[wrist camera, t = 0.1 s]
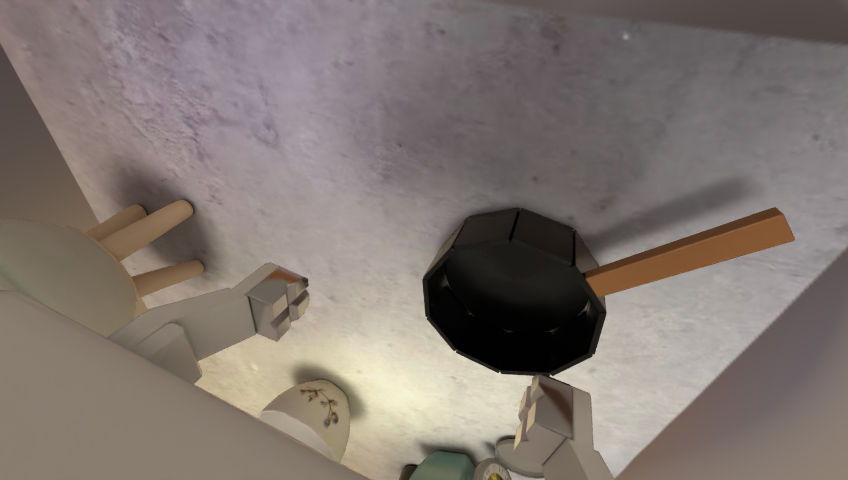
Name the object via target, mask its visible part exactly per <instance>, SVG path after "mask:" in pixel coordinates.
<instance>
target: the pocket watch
mask: <svg viewBox="0 0 848 480" xmlns="http://www.w3.org/2000/svg"><path fill="white" fill-rule="evenodd" d="M514 443H515V439H506V440H503V441H500V442H499V443H498V444H497V445H496V449H495V455H496V458H495V459H494V458H489V459H485V460H484V461H482V462H481V463H480V464H479V465H478V466H477V468H476V470H475V473H474V477H473V480H489V479H488V478H489V476H490V479H491V480H512V479H511V477H510V475H509V472H508V471H507V469H509V470H511V471H513V472H515V473H517V474H519V475H522V476H525V477H529V478H535V479H540V478H545V477H544V475H543V472H542V469H541V467H542V466H540V465H538V464H536V463H534V462H532V461H530V460H528V459H526V458H524V457H522V456H520V455H518V454H516V453H514V452H513V451H514ZM492 476H494V479H493V478H492Z"/></svg>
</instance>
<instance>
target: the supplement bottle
mask: <svg viewBox="0 0 848 480" xmlns="http://www.w3.org/2000/svg"><path fill="white" fill-rule="evenodd" d="M417 467H418V466H407V467H405V468H404V469H403V471H402V473H401V476H400V478H399V480H409V479H410V477H411V476H412V474H413V472H414V471H415V470H416V468H417Z"/></svg>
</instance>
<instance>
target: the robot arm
mask: <svg viewBox="0 0 848 480" xmlns="http://www.w3.org/2000/svg"><path fill="white" fill-rule="evenodd" d="M308 286H309V285H308V279H307V278H305V277H303V276H301V275H298V274H296V273H294V272H292V271H289V270H287V269H285V268H283V267H280V266H278V265H275V264H273V263H271V262H270V263H266V264H264V265H263V266H262V267H260V268H259V269H258V270H256V271H255V272H254V273H252V274H251V275H250V276H249V277H247V278H246V279H245V280H243V281H242V282H241V283H239V284H238V285H237V286H235V287H234V288H233V289H230V288H226V289H222V290H218V291H215V292H211V293H207V294H204V295H200V296H196V297H192V298H189V299H185V300H181V301H178V302H174V303H170V304H166V305H163V306H159V307H155V308H152V309H149V310H147V311H146V312H144V313H143V314H142V315H140V316H138V317H137V318H135V319H134V320H132V321H131V322H129V323H128V324H126V325H125V326H123V327H122V328H120V329H119V330H117V331H116V332H114V333H113V334H111V335H110V336H108V337H107V338H106V337H104V336H102V335H101V334H99V333H97V332H95V331H93V330H91V329H89V328H87V327H85V326H84V325H82V324H80V323H78V322H76V321H74V320H72V319H70V318H69V317H67V316H65V315H63V314H61V313H59V312H57V311H55V310H53V309H52V308H50V307H48V306H46V305H44V304H42V303H40V302H39V301H37V300H35V299H33V298H31V297H30V296H28V295H26V294H23V293H21V292H18V291H13V290H1V291H0V480H372V479H371V478H369V477H367V476H365V475H363V474H361V473H359V472H357V471H356V470H354V469H352V468H350V467H348V466H346V465H344V464H342V463H341V462H339V461H337V460H335V459H333V458H331V457H329V456H327V455H326V454H324V453H322V452H320V451H318V450H316V449H314V448H312V447H311V446H309V445H307V444H305V443H303V442H301V441H299V440H298V439H296V438H294V437H292V436H290V435H288V434H286V433H284V432H283V431H281V430H279V429H277V428H275V427H273V426H271V425H269V424H268V423H266V422H264V421H262V420H260V419H258V418H256V417H254V416H252V415H251V414H249V413H247V412H245V411H243V410H241V409H239V408H237V407H236V406H234V405H232V404H230V403H228V402H226V401H224V400H222V399H221V398H219V397H217V396H215V395H213V394H211V393H209V392H207V391H206V390H204V389H202V388H200V387H198V386H196V385H194V383H195V382H197V381H198V380H199V379H200V378H201V377H202V370H201V368H200V366H199V363H198V361H199V360H201V359H204V358H206V357H208V356H210V355H212V354H214V353H217V352H219V351H221V350H223V349H225V348H227V347H230V346H232V345H234V344H236V343H238V342H241V341H243V340H245V339H247V338H249V337H251V336H254V335H256V333H258V334H260V335H262V336H265V337H267V338H269V339H272V340H274V341H276V342H277V341H278V340H279V339H280V338H281V337H282V336H283V335H284V334H285V333H286V332H287V331H288V330H289V329H290V326H291V322H292V321H294V320H297V319H299V318H300V317H301V316H302V315H303V314H304V312H305V311H306V309H307V307H308V304H309V300H310V299H309V294H308V292H307V290H306V288H307V287H308ZM518 416H519V419H520V421H521V424H520V425H519V427H518V428H517V430H516V436H515V443H514V451H513V452H514V453H516V454H518V455H520V456H522V457H524V458H526V459H528V460H530V461H532V462H534V463H536V464H538V465H540V466H542V467H541V469H542V472H543V475H544V477H545V480H614V478H613V476H612V474H611V472H610V471H609V469H608V467H607V465H606V464H605V462H604V460H603V458H602V456H601V455H600V453H599V452H598V451H596V450H594V448H593V428H592V407H591V396H590V394H589V393H588V392H585V391H583V390H580V389H578V388H575V387H573V386H570V385H569V384H566V383H564V382H561V381H559V380H556V379H554V378H551V377H549V376H546V375H544V374H541V373H539V372H537V373H536V374H535V375H534V377H533V379H532V386H528V387H527V389H526V391H525V392H524V395H523V398H522V400H521V404H520V409H519V415H518Z"/></svg>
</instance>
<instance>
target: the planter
mask: <svg viewBox="0 0 848 480" xmlns="http://www.w3.org/2000/svg"><path fill="white" fill-rule="evenodd" d="M192 214H193V208H192V206H191V205H190V203H188V202H187V201H185V200H178V201H176V202H174V203H171V204H169V205H167V206H165V207H163V208H162V209H160V210H158V211H156V212H154V213H152V214H150V215H148V216H146V211H145V210H144V208H142V207H141V206H139V205H131V206H129V207H127V208H126V209H124V210H122V211H120V212H119V213H117V214H116V215H114V216H112V217H111V218H109V219H108V220H106V221H104V222H103V223H101V224H99V225H98V226H96V227H94V228H93V229H91V230H90V231H88V232H86V233H85V232H83V231H81V230H80V229H77V228H75V227H70V226H60V225H56V224H51V223H46V222H40V221H32V220H21V219H0V291H1V290H13V291H18V292H21V293H23V294H26V295H28V296H30V297H31V298H33V299H35V300H37V301H39V302H40V303H42V304H44V305H46V306H48V307H50V308H52V309H53V310H55V311H57V312H59V313H61V314H63V315H65V316H67V317H69V318H70V319H72V320H74V321H76V322H78V323H80V324H82V325H84V326H85V327H87V328H89V329H91V330H93V331H95V332H97V333H99V334H101V335H102V336H104V337H106V338H107V337H108V336H110V335H111V334H113V333H114V332H116V331H117V330H119V329H120V328H122V327H123V326H125V325H126V324H128V323H129V322H131V321H132V320H133V318H134V314H135V309H136V302H137V301H138V298H140V297H143V296H145V295H148V294H150V293H153V292H155V291H158V290H160V289H163V288H166V287H168V286H171V285H174V284H176V283H179V282H182V281H185V280H188V279H190V278H193V277H195V276H198V275H200V274H202V273H203V272H204V266H203V265H202V263H200V262H199V261H197V260H192V261H188V262H184V263H181V264H177V265H173V266H169V267H165V268H161V269H157V270H154V271H150V272H147V273H143V274H140V275H136V276H133V277H131V276H130V275H129V273H128V272H127V271H126V269H125V268H124V267H123V265H122V264H121V263H120V262H119V261H121V260H123V259H124V258H126V257H128V256H129V255H131V254H133V253H134V252H136V251H137V250H139V249H140V248H142V247H144V246H145V245H147V244H148V243H150V242H151V241H153V240H155V239H156V238H158V237H159V236H161V235H162V234H164V233H165V232H167V231H169V230H170V229H172V228H173V227H175V226H176V225H178V224H179V223H181V222H182V221H184V220H185V219H187V218H188V217H190V216H191V215H192Z"/></svg>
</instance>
